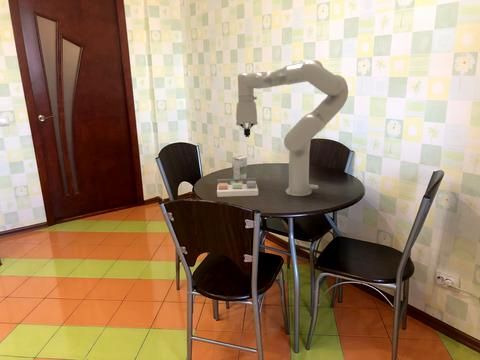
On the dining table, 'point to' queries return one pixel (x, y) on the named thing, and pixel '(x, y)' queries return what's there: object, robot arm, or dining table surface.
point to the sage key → (237, 185)
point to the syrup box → (239, 167)
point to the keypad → (237, 191)
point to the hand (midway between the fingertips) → (247, 136)
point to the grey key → (251, 183)
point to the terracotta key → (222, 185)
